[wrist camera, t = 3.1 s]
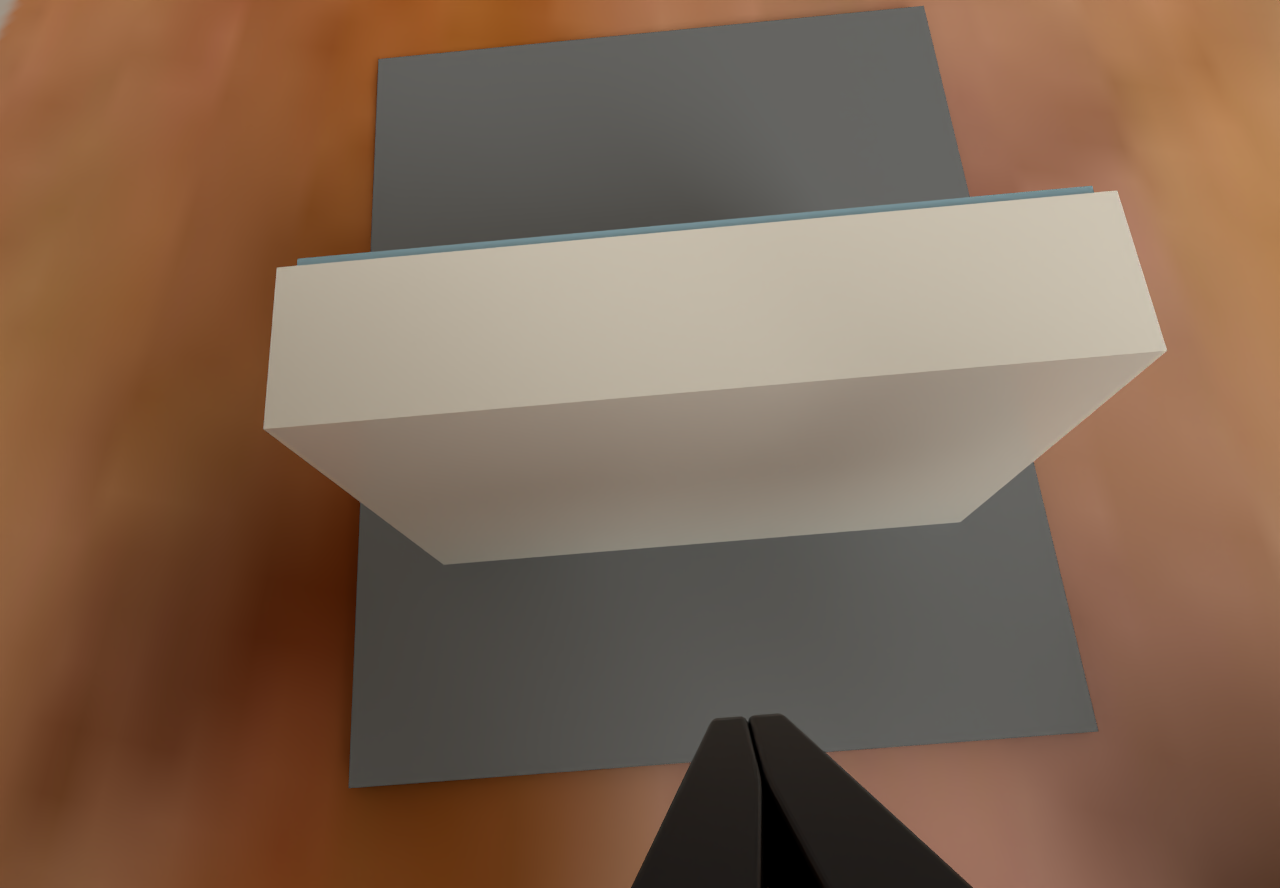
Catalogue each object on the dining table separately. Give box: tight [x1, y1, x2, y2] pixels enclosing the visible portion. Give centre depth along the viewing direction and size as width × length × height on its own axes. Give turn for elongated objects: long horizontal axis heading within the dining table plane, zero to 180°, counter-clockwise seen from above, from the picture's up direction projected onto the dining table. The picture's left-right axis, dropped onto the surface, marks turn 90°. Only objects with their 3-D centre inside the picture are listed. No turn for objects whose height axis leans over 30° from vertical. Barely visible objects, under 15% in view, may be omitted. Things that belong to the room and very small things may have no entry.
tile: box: [263, 186, 1167, 565], centre depth 16 cm, size 3×12×9 cm, turn 94°
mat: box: [349, 6, 1098, 788], centre depth 22 cm, size 20×16×1 cm
